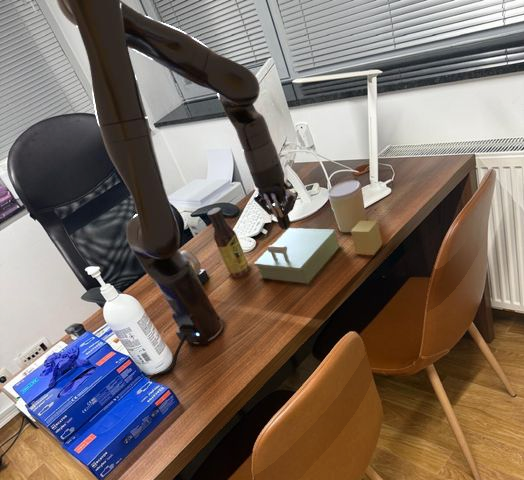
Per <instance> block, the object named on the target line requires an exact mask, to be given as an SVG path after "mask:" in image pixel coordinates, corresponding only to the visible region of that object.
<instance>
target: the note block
mask: <svg viewBox="0 0 524 480" xmlns="http://www.w3.org/2000/svg"><path fill="white" fill-rule="evenodd" d="M350 233H351V237H352V242H353V246H354V251H355V253H356V255H366V256H375V254H376V253H377V251H379V249H380V248H381V247H382V245H383V240H382V236H381V230H380V226H379V221H378V220H366V221H359V222H358V224H357V225H356V226H355V227H354V228H353V229H352V230H351V232H350Z"/></svg>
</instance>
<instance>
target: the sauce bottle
mask: <svg viewBox="0 0 524 480" xmlns="http://www.w3.org/2000/svg"><path fill="white" fill-rule="evenodd" d="M207 217H208V219H209V221H210V222H211V224H212V227H213V230H214V231H213V239H214V241H215V244H216V247H217V249H218V251H219V254H220V256H221V258H222V260H223V263H224V265H225V268H226V269H227V272H228V273H229V275H230V276H231V277H232V278H233V277H234V278H238V277H241V276H243V275H245V274H246V273H247V272H248V271H249V269H250V266H249V261H248V260H247V258H246V255H245V252H244V250H243V247H242V245H241V242H240V240H239V238H238V235H237V233H236V231H235V230H234V229H233V228H232V227H231V225H229V224H228V222H227V220H226V219H225V216H224V213H223V209H222V208H221V207H214V208H212V209H210V210H209V211H208V212H207Z"/></svg>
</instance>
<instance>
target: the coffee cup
mask: <svg viewBox="0 0 524 480" xmlns="http://www.w3.org/2000/svg"><path fill="white" fill-rule="evenodd" d="M362 189H363V186H362V184H361V183H360V181H358V180H356V179H355V180H354V179H351V180H350V179H349V180H345V181H341V182H339V183H336V184H335V185H333V186H332V187H330V189H328V191H327V198H328V200H329V203H330V205H331V209H332V212H333V214H334V218H335V221H336V224H337V226H338V229H339V231H340V232H341V233H342V232H343V233H351V230H352V229H353V228H354V227H355V226H356V225H357V224H358V222H359V221H367V215H366V208H365V202H364V201H365V200H364V195H363V190H362Z"/></svg>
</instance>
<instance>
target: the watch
mask: <svg viewBox="0 0 524 480" xmlns="http://www.w3.org/2000/svg"><path fill="white" fill-rule="evenodd" d="M179 252H180V253H181V254H182V255H183V256H184V257H186V258H187V259H188V260H189V261H190V262H191V264H192V267H193V269H194V271H195V273H196V274H197V276H198V278H199V280H200V282H201V284H202V286H203V285H204V284H205V283H206V282H207V281H208V280H209V279H210V277H209V275H208V273H207V271H206V269H202V267H201V262H200V260H199V258H198V257H197V256H196V255H195V254H194V253H193V252H192V251H190V250H187V249H184V250H181V251H179Z"/></svg>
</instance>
